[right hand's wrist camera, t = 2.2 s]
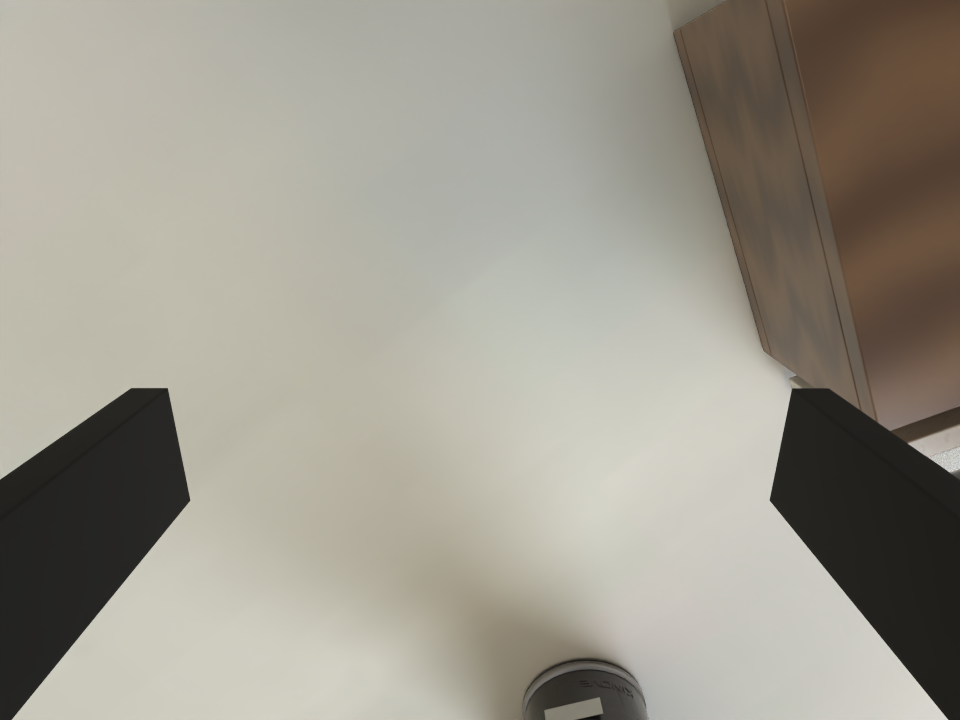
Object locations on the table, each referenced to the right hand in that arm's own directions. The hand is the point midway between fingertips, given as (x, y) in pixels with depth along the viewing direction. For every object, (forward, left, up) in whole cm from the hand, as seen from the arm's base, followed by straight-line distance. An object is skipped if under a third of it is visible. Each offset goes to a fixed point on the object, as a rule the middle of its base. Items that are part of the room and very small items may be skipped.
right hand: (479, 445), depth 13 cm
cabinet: (-13, +15, -23) cm, 30 cm away
